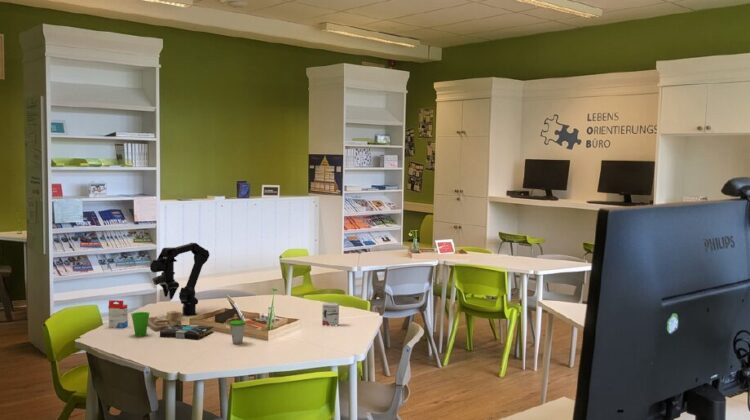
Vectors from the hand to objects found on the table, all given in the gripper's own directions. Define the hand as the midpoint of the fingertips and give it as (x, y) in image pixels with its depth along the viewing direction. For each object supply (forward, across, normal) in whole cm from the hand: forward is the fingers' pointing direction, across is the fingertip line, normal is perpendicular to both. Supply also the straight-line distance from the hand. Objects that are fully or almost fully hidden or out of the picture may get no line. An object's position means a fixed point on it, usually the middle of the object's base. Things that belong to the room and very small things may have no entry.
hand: (168, 298), depth 369 cm
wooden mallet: (+12, +19, -7) cm, 23 cm away
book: (+13, +39, -3) cm, 41 cm away
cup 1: (+12, +28, -23) cm, 38 cm away
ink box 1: (+12, +4, -28) cm, 31 cm away
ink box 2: (+12, +59, +70) cm, 92 cm away
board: (+12, +12, -10) cm, 20 cm away
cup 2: (+12, +68, +12) cm, 70 cm away
